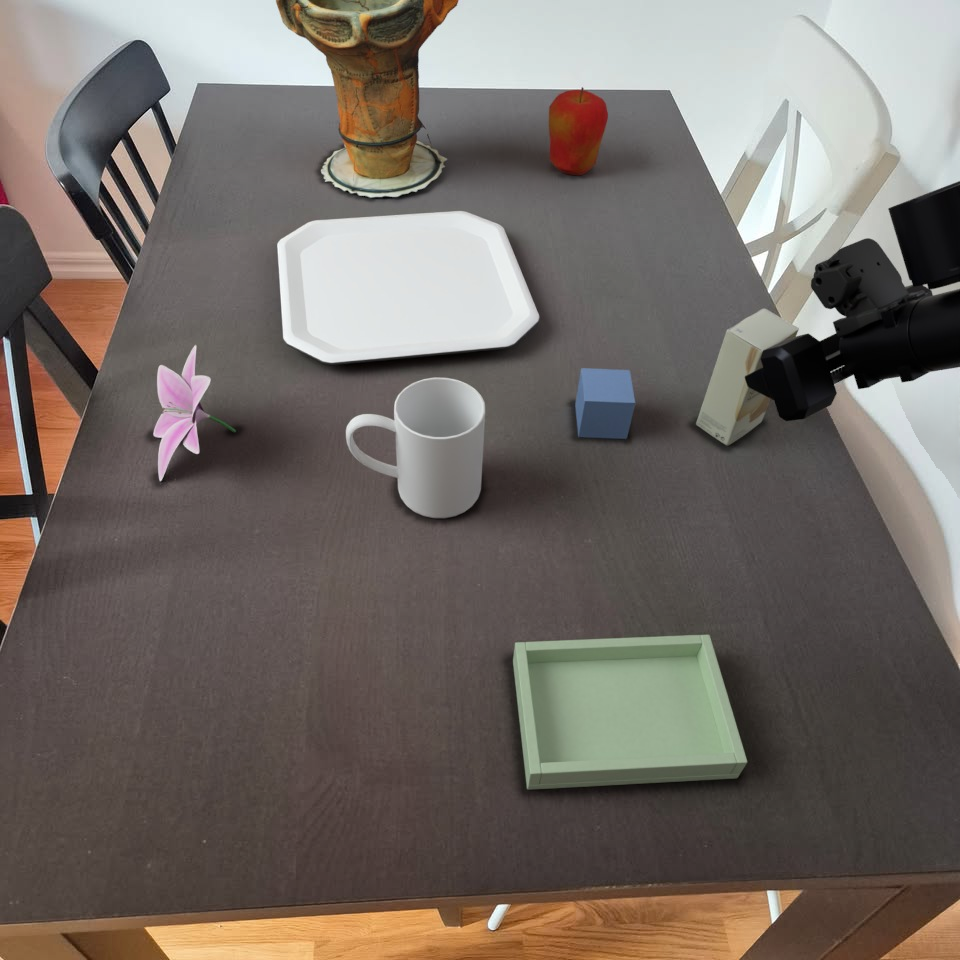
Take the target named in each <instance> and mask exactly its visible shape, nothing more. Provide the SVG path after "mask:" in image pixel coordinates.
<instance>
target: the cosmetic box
mask: <svg viewBox="0 0 960 960" xmlns="http://www.w3.org/2000/svg"><path fill="white" fill-rule="evenodd" d="M798 332H799V327H797V326H796V325H795V324H792V323H791V322H789V321H788V320H786V319H784V318H782V317H781V316H779V315H777V314H775V313H774V312H772V311H770V310H769V309H767V308H761V309H760V310H758V311H756V312H755V313H753V314H751V315H750V316H747V317H745V318H744V319H742V320H741V321H739V322H738V323H736V324H735V325H733V326H731V327H730V328H727V329H726V331H725V334H724V338H723V340H722V344H721V347H720V349H719V352H718V355H717V359H716V361H715V365H714V368H713V370H712V373H711V377H710V380H709V383H708V386H707V389H706V392H705V396H704V398H703V401H702V405H701V407H700V410H699V414H698V416H697V420H696V422H695V425H696V426H697V427H699V428H700V429H701V430H703V431H704V432H705V433H707V434H708V435H710V436H711V437H713V438H714V439H716V440H717V441H719V442H720V443H722V444H724V446H730V445H732V444H733V443H735V442H736V441H738V440H740V439H741V438H742V437H744V436H745V435H746V434H748V433H749V432H751V431H752V430H753V429H754V428H756V427H757V426H758V425H759V424H761V423H762V422H763V421H764V417H765V415H766V412H767V410H768V407H769V404H770V402H771V399H770V398H768V397H766V396H764V395H762V394H760V393H758V392H756V391H754V390H752V389H751V388H749V387H748V386H747V384H746V381H745V376H746V375H748V374H750V373H752V372H754V371H756V370H758V369H760V368H762V367H763V365H762V362H761V355H762V352H763V350H765V349H767V348H769V347H772V346H774V345H776V344H778V343H780V342H783V341H785V340H788V339H791V338H794V337H796V336H798Z"/></svg>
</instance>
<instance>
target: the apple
mask: <svg viewBox="0 0 960 960" xmlns="http://www.w3.org/2000/svg"><path fill="white" fill-rule="evenodd" d="M584 89H585V88H584V87H581V89H571V90H566V91H563V92H561V93H559V94H558V95H557V96H556V97H555V98H554V99H553V100H552V101H551V104H549V106H548V132H549V157H548V159H549V161H550V162H551V164H552V165H553V166H554V167H555V168H556V170H558V171H559V172H560V173H563V174H567V175H573V176H582V175H585V174H587V173H588V172H589V171H590V170H592V168H593V167H594V166H595V165H596V163H597V160H598V159H597V158H598V154H599V150H600V146H601V143H602V140H603V138H604V134H605V131H606V127H607V123H608V118H609V112H608V107H607V103H606V101H605V100H604V99H603V98H602V97H600V96H598V95H596V94H594V93H592V92H591V91H587V90H584Z"/></svg>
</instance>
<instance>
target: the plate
mask: <svg viewBox="0 0 960 960" xmlns="http://www.w3.org/2000/svg"><path fill="white" fill-rule="evenodd" d="M276 247H277V248H276V249H277V263H278V279H279V295H280V296H279V297H280V311H281V312H280V313H281V324H282V325H281V326H282V327H281V329H282V340H283V342H284V343H285V344H286V345H287V347H289V348H291V349H293V350H295V351H297V352H299V353H301V354H303V355H305V356H307V357H309V358H311V359H313V360H315V361H317V362H319V363H321V364H323V365H329V366H337V365H347V364H357V363H358V364H359V363H368V362H380V361H390V360H392V361H393V360H401V359H413V358H421V357H422V358H423V357H434V356H444V355H445V356H446V355H454V354H456V355H457V354H464V353H465V354H467V353H475V352H486V351H496V350H497V351H498V350H506V349H510V348H512V347H515V345H517V344H518V342H519V341H521V340H522V339H523V338H524V337H525V336H526V335H527V334H528V333H529V332H530V331H531V330H532V329H533V328H534V327H536V326H537V325H538V324H539V321H540V318H541V317H540V314H539V312H538V310H537V307H536V304H535V302H534V298H533V297H532V295H531V292H530V290H529V287H528V285H527V282H526V279H525V277H524V275H523V273H522V269H521V267H520V265H519V262H518V260H517V257H516V256H515V253H514V250H513V247H512V244H511V243H510V240H509V238H508V235H507V233H506V230H505V228H504V227H503V226H502V225H501V224H499V223H496V222H494V221H491V220H489V219H486V218H484V217H482V216H478V215H476V214H474V213H471V212H469V211H464V210H455V211H454V210H452V211H438V212H437V211H436V212H424V213H423V212H421V213H409V214H408V213H407V214H391V215H377V216H376V215H375V216H363V217H347V218H332V219H317V220H312V221H309V222H306V223H305V224H303V225H302V226H300V227H297V228H296V229H295V230H293V231H292V232H290V233H288V234H287V235H286V236H283V237H282V238H280V239H279V240H278V242H277V244H276Z"/></svg>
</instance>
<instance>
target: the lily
mask: <svg viewBox="0 0 960 960" xmlns="http://www.w3.org/2000/svg"><path fill="white" fill-rule="evenodd" d="M196 357H197V344H194V346H193V347H192V349H191V350H190V352H189V354H188V356H187V358H186V361H185V364H184V365H183V368H182V372H181V376H180V374H178V373H176V372H175V371H174V370H172V369H170V368H169V367H167V366H166V365H164V364H159V366H158V367H157V368H158V369H157V374H156V388H157V396H158V401H159V404H160V405H161V408H162V410H163V411H162V412H160V416H159V418H158V420H157V421H156V423H155V426H154V428H153V434H152V435H153V437H155V438H159V439H160V438H161V440H160V443H159V448H158V457H157V473H158V479H159V482H162V481H163V478H164V476H165V473H166V471H167V468H168V467H169V463H170V461H171V459H172V457H173V455H174V453H175V451H176V450H177V448H178V446H179V445H180V444H181V442H182V445H183V446H184V448H185V449H187V450H188V451H190V452H192V453H193V454H196V455H198V454H200V444H199V437H198V428H197V427H198V426H197V424H198V423H199V422H200V421H201V420H203V419H209V420H212V421H214V422H215V423H218V424H220V425H222V426H223V427H225V428H226V429H228V430H229V431H230V432H232V433H236V432H237V430H236V429H235V428H233V427H232V426H230V425H229V424H227V423H226V422H225V421H223V420H222V419H219V418H217V417H215V416H213V415H211V414H209V413H206V412H205V410H204V408H203V406H202V404H201V400H202V398H203V396H204V394H205V393H206V391H207V389H208V388H209V386H210V385H211V381H212V380H211V377H209V376H208V375H201V374H198V375H195V374H196Z"/></svg>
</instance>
